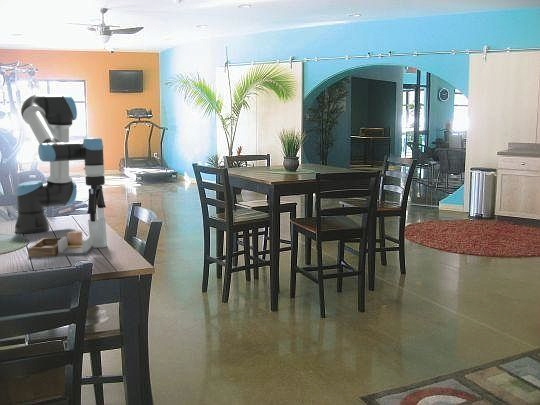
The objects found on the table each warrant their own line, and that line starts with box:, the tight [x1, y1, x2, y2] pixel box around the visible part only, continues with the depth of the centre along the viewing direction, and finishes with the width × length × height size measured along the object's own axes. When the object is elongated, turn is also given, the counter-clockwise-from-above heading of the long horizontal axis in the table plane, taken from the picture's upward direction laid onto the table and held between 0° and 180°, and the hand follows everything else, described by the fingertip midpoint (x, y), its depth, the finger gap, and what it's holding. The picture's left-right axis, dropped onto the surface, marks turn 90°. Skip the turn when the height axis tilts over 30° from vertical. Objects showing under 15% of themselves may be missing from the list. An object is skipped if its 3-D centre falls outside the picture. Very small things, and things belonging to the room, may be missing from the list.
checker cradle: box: [56, 235, 93, 257], centre depth 224 cm, size 12×11×6 cm
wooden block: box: [66, 230, 83, 246], centre depth 234 cm, size 6×6×6 cm
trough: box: [27, 237, 62, 258], centre depth 225 cm, size 18×10×4 cm, turn 5°
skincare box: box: [87, 217, 108, 249], centre depth 232 cm, size 6×4×12 cm
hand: (97, 226), depth 231 cm, fingers open, 13 cm apart
